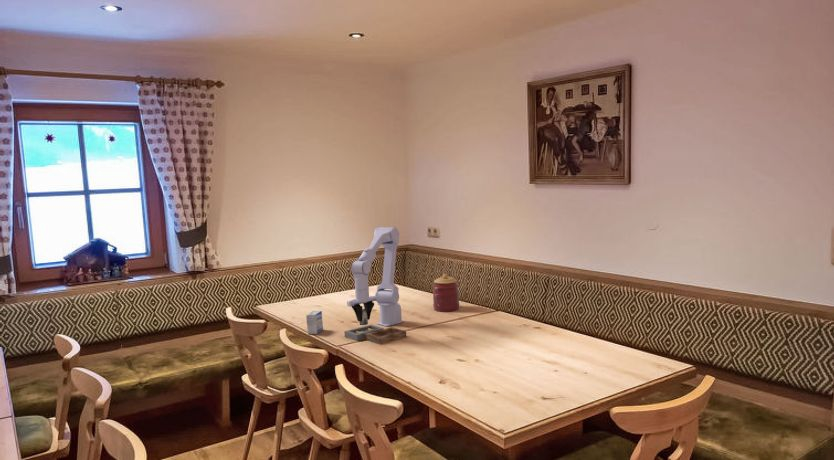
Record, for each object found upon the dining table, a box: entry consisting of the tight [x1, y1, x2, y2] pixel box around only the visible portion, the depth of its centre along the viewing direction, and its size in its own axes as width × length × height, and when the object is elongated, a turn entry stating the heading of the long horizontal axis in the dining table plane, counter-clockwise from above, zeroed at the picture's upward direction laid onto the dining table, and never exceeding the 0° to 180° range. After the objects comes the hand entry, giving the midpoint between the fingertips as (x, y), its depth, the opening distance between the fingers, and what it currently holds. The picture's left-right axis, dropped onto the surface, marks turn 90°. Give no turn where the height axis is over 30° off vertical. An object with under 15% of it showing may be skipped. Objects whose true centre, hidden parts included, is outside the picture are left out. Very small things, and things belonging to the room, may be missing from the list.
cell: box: [358, 308, 369, 326], centre depth 256 cm, size 4×4×6 cm
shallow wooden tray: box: [364, 326, 407, 345], centre depth 251 cm, size 14×10×2 cm
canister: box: [432, 273, 461, 313], centre depth 296 cm, size 13×13×18 cm
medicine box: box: [305, 310, 324, 335], centre depth 265 cm, size 8×4×9 cm, turn 168°
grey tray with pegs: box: [344, 324, 385, 342], centre depth 256 cm, size 14×9×3 cm
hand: (363, 320), depth 256 cm, fingers closed on cell, 4 cm apart
